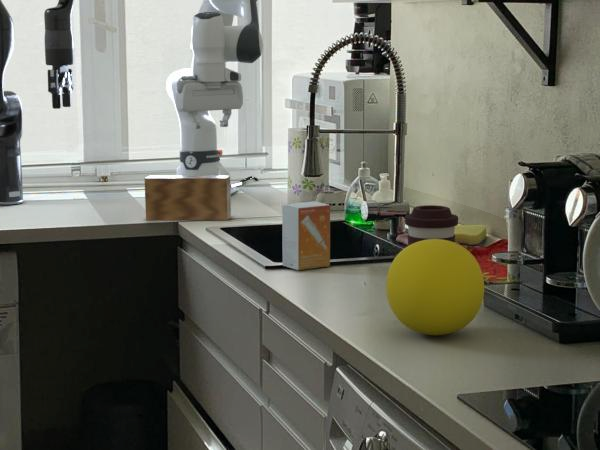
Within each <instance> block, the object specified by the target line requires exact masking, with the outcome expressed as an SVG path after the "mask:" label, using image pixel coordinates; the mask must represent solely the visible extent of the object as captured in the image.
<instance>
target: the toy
mask: <svg viewBox="0 0 600 450" xmlns="http://www.w3.org/2000/svg"><path fill="white" fill-rule="evenodd" d="M385 290H386V291H385V292H386V296H387V297H386V298H387V302H388V304H389V307H390V310H391V311H392V313H393V315H394V316H395V318H396V319H397V320H398V321H399V322H400V323H401V324H402V325H403V326H405V327H406V328H408V329H410V330H411V331H413V332H416V333H418V334H422V335H426V336H445V335H450V334H453V333H456V332H458V331H460V330H462V329H463V328H465V327H467V326H468V325H469V324H470V323H471V322H472V321H474V319H475V318H476V316H477V315H478V313H479V312H480V309H481V307H482V304H483V302H484V296H485V279H484V275H483V271H482V269H481V266H480V264H479V262H478V260H477V259H476V258H475V256H474V255H473V254H472V253H471V252H470V251H469V250H468V249H467V248H465V247H464V246H463V245H460V244H459V243H457V242H455V243H454V242H451V241H447V240H442V239H427V240H422V241H418V242H415V243H413V244H411V245H409V246H408V245H407V246H406V247H404V248H403V249H402V250H400V251H399V252H398V253H397V254H396V256H395V257H394V259H393V260H392V262H391V264H390V266H389V269H388V271H387V275H386V284H385Z"/></svg>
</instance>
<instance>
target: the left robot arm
mask: <svg viewBox="0 0 600 450" xmlns="http://www.w3.org/2000/svg"><path fill="white" fill-rule="evenodd" d="M57 1H58V2H57V4H56V5H55V6H53V7H48V8H47V9H45V10H44V13H43V16H44V17H43V18H44V56H45V58H44V59H45V65H46V66H52V67H51V69H47V92H48V93H49V94H50V95H51V104H52V105H51V106H52V109H55V110H56V109H59V110H60V109H62V107H63V108H71V107H72V91H74V89H75V88H74V75H73V68H69V67H68V66H73V65H74V64H75V55H74V51H75V50H74V38H73V31H72V12H73V7H74V2H75V0H57ZM14 48H15V25H14V21H13V18H12V16H11V14H10V12H9V11H8V9H7V7H6V6H5V4H4V2H3V1H2V0H0V206H11V205H21V204H23V203H24V202H25V201H24V187H23V170H22V169H23V168H22V167H23V166H22V151H21V139H22V135H23V105H22V101H21V99H20V97H19V95H18V94H17V93H16V92H14V91H12V90H4V75H5V72H6V69H7V66H8V64H9V61H10V59H11V58H12V54H13V52H14Z"/></svg>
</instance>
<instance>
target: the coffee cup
mask: <svg viewBox="0 0 600 450" xmlns="http://www.w3.org/2000/svg"><path fill="white" fill-rule="evenodd" d="M404 225H406V226H407V227H408V228H407V230H408V233H407V246H409V245H411V244H413V243H415V242H418V241H422V240H427V239H442V240H447V241H451V242H454V243H456V235H455V229H456V228H455V227H456V226H458V225H459V216H458V215H456V214H453V213H452V211H451V208H450V207H448V206H444V205H437V204H436V205H434V204H433V205H431V204H429V205H426V204H425V205H418V206H414V207H413V208H412V210H411V213H408V214H406V215H405V216H404Z"/></svg>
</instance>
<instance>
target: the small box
mask: <svg viewBox="0 0 600 450" xmlns="http://www.w3.org/2000/svg"><path fill="white" fill-rule="evenodd" d="M281 216H282V217H281V218H282V219H281V222H282V223H281V224H282V225H281V226H282V227H281V228H282V229H281V231H282V233H281V236H282V242H281V244H282V266H283V267H286V268H288V269H289V268H290V269H291V270H296V271H301V270H302V271H303V270H309V269H318V268H319V269H320V268H326V267H330V266H331V204H328V203H323V202H319V201H314V200H313V201H305V202H303V201H302V202H294V203H285V204H282V205H281Z"/></svg>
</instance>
